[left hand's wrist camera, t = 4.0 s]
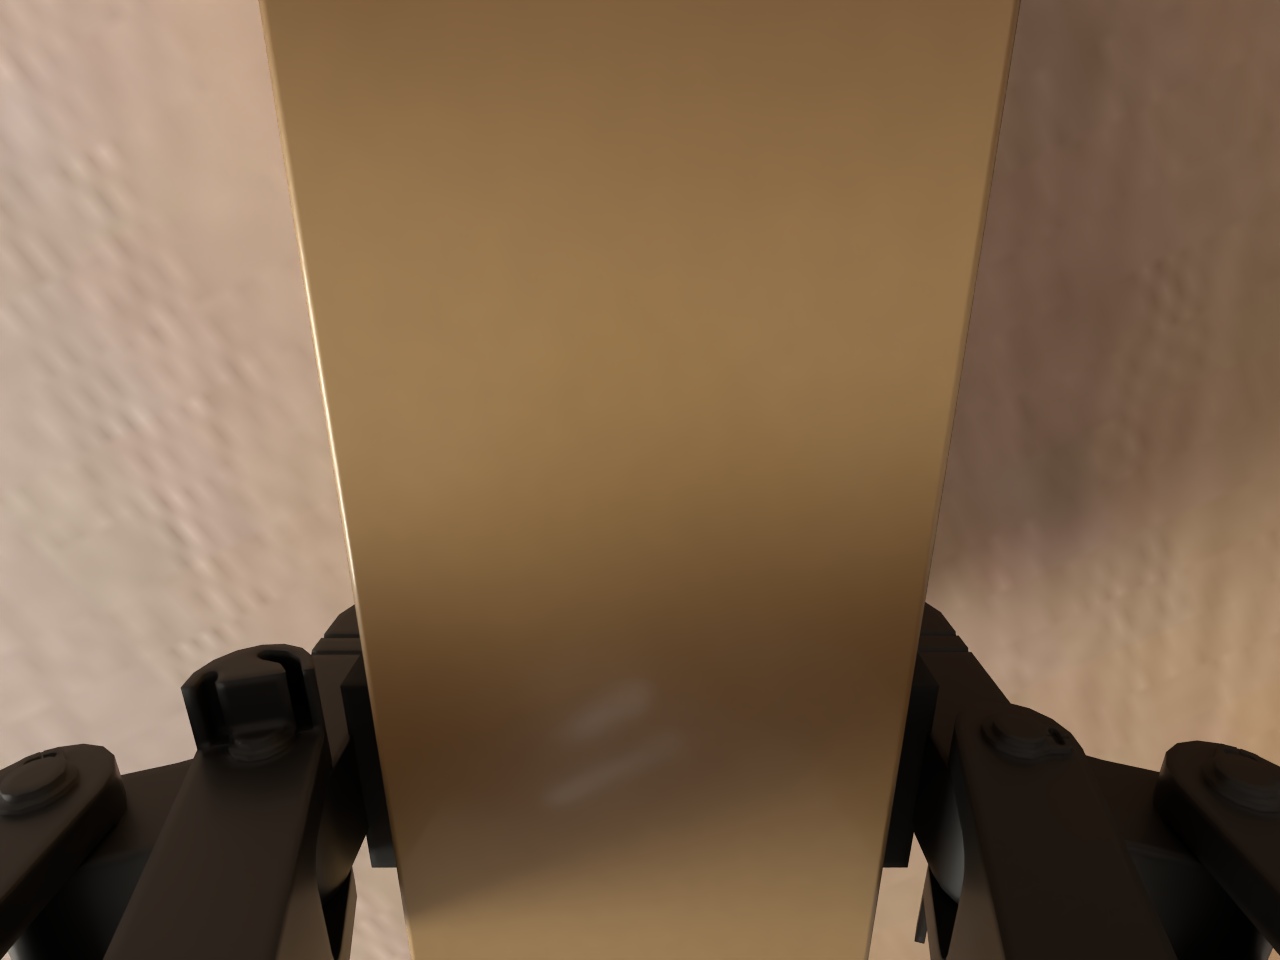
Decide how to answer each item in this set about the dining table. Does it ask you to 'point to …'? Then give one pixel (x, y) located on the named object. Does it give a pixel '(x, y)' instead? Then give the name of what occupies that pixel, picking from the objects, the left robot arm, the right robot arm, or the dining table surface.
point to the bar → (639, 439)
